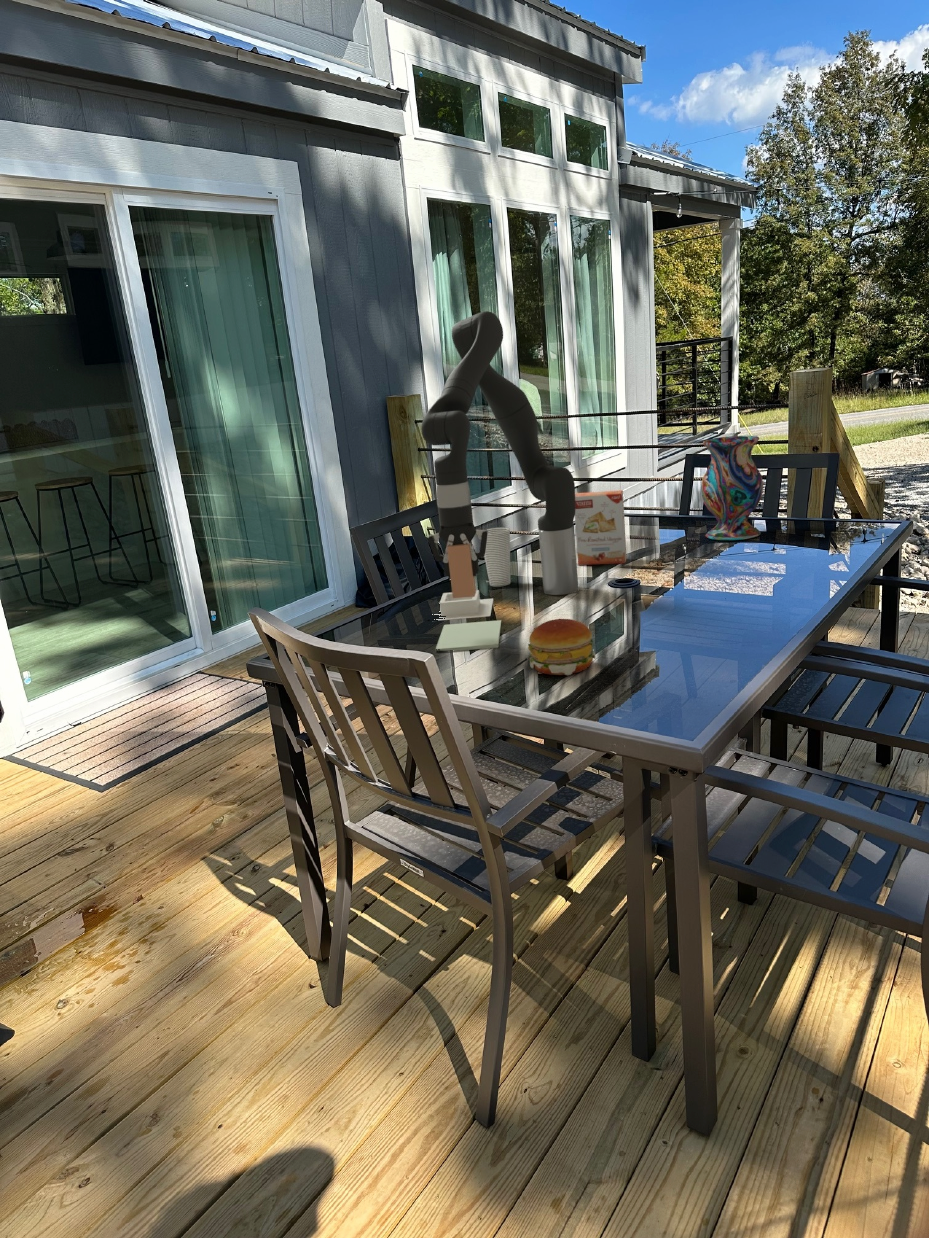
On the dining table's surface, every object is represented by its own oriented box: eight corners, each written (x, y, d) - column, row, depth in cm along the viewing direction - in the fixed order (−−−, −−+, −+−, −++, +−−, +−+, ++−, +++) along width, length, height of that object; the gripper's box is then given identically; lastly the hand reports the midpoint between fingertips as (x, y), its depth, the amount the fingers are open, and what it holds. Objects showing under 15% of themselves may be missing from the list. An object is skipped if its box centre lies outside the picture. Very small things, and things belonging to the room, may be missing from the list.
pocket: (493, 600, 228) (492, 585, 227) (490, 618, 213) (488, 602, 212) (434, 605, 230) (432, 591, 229) (426, 623, 215) (424, 607, 214)
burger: (590, 653, 181) (587, 608, 178) (602, 675, 168) (599, 627, 165) (527, 661, 181) (522, 615, 178) (534, 683, 168) (529, 635, 165)
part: (476, 590, 200) (470, 540, 196) (474, 596, 195) (469, 544, 191) (455, 592, 200) (449, 542, 197) (452, 598, 195) (446, 546, 192)
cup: (512, 587, 240) (507, 532, 235) (482, 588, 241) (476, 534, 237) (517, 579, 247) (511, 526, 243) (488, 581, 249) (482, 528, 245)
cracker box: (577, 566, 254) (572, 496, 248) (580, 561, 260) (575, 492, 254) (625, 563, 251) (621, 492, 245) (627, 558, 256) (623, 489, 250)
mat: (501, 623, 208) (501, 620, 208) (498, 647, 191) (497, 644, 191) (444, 628, 210) (444, 624, 209) (436, 652, 192) (435, 649, 192)
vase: (690, 537, 274) (686, 442, 266) (735, 527, 281) (733, 434, 273) (730, 545, 258) (727, 444, 250) (776, 534, 265) (776, 435, 257)
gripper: (487, 497, 194) (494, 570, 199) (424, 503, 196) (433, 575, 201) (485, 503, 187) (492, 578, 192) (420, 509, 189) (429, 583, 194)
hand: (462, 576), depth 196 cm, fingers closed on part, 5 cm apart
